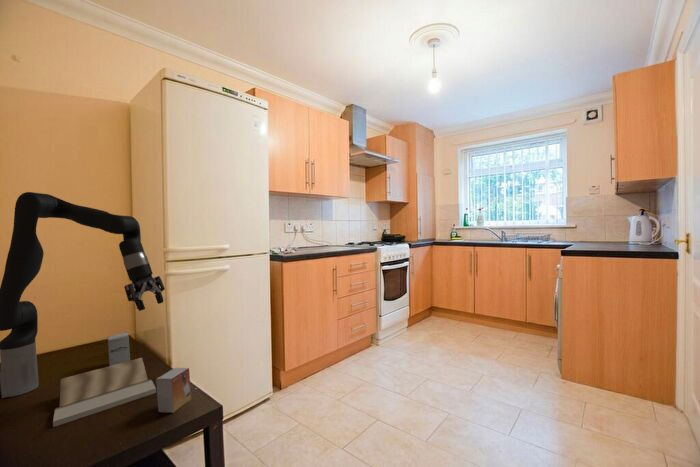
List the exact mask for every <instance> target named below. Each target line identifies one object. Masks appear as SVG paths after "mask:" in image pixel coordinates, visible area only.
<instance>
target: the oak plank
mask: <svg viewBox="0 0 700 467" xmlns="http://www.w3.org/2000/svg"><path fill="white" fill-rule="evenodd" d="M147 380H149V378H148V375H147V372H146V368H145V363H144V361H143V358H142V357H138V358H135V359H132V360H131V359H130V361H127V362H123V363H120V364H116V365H112V366H110V365H109V366H108V365H107V366H105V367H102V368H98V369H97V368H96V369H93V370H89V371H87V372H82V373H78V374H75V375H72V376H71V375H70V376H68V377H64V378H63V377H62V378H60V388H59V390H60V391H59V407H62V406H65V405H68V404H72V403H75V402H78V401H81V400H85V399H88V398H91V397H94V396H98V395H101V394H104V393H108V392H111V391H114V390H117V389H121V388H124V387H127V386H130V385H134V384H137V383H140V382H143V381H147Z"/></svg>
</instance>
